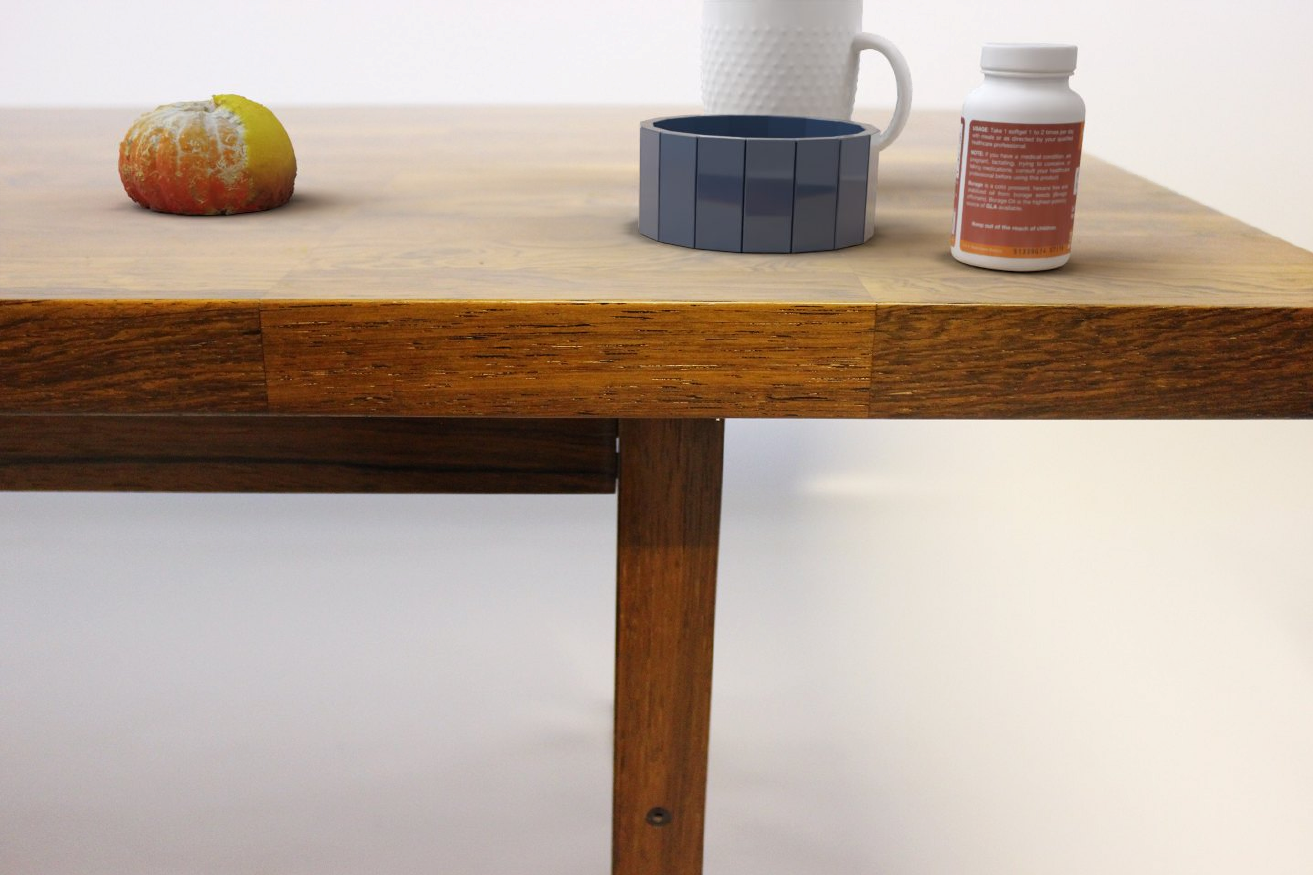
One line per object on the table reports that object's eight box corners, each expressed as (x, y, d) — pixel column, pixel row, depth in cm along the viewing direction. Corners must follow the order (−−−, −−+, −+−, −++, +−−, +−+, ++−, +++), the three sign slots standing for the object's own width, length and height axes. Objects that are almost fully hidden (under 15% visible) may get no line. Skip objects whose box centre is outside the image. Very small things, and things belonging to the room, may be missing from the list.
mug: (920, 183, 98) (935, -6, 94) (885, 205, 88) (900, -5, 84) (726, 169, 103) (732, -11, 99) (673, 189, 94) (678, -10, 89)
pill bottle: (1092, 271, 70) (1120, 47, 66) (984, 276, 68) (1006, 47, 64) (1030, 248, 75) (1052, 41, 72) (929, 252, 74) (946, 40, 70)
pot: (893, 220, 83) (900, 121, 81) (840, 261, 71) (847, 145, 69) (684, 204, 88) (686, 109, 86) (602, 240, 76) (602, 131, 74)
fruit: (135, 182, 90) (160, 63, 88) (293, 228, 92) (321, 112, 90) (86, 206, 79) (113, 71, 77) (265, 257, 81) (296, 127, 79)
